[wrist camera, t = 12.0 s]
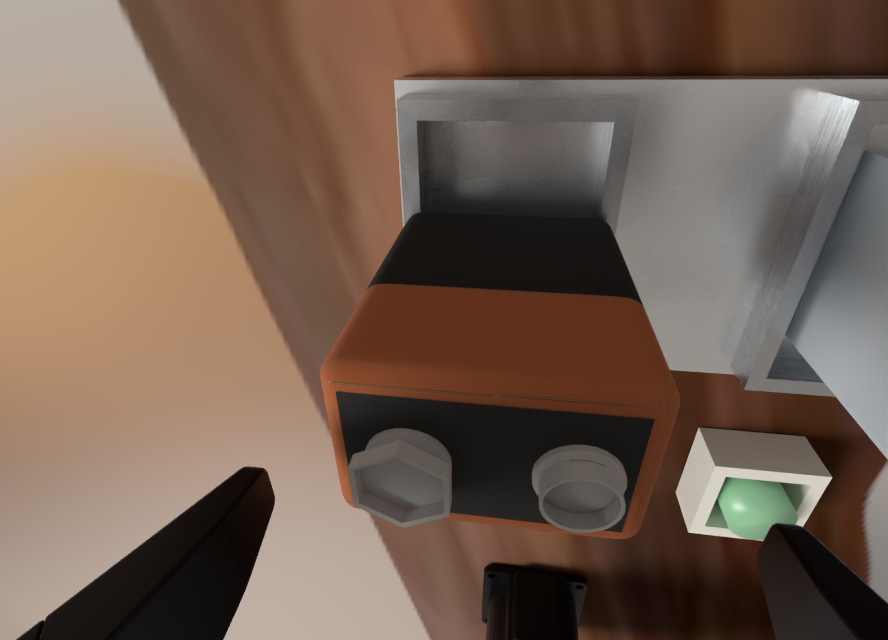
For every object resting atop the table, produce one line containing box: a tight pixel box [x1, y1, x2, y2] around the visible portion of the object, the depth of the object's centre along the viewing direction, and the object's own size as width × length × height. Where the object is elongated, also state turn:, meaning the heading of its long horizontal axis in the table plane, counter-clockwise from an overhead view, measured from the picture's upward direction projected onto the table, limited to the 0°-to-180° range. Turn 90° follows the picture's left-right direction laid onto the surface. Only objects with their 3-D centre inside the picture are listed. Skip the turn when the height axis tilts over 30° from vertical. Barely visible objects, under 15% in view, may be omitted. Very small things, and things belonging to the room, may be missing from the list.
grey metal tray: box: [394, 75, 888, 397], centre depth 17 cm, size 11×21×3 cm, turn 91°
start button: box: [717, 477, 798, 540], centre depth 23 cm, size 3×3×3 cm
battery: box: [320, 212, 680, 539], centre depth 13 cm, size 4×7×10 cm, turn 91°
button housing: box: [676, 427, 832, 541], centre depth 23 cm, size 5×5×2 cm
